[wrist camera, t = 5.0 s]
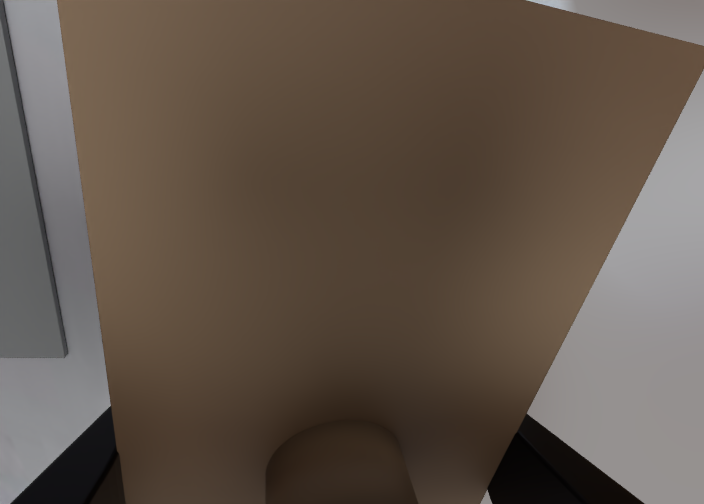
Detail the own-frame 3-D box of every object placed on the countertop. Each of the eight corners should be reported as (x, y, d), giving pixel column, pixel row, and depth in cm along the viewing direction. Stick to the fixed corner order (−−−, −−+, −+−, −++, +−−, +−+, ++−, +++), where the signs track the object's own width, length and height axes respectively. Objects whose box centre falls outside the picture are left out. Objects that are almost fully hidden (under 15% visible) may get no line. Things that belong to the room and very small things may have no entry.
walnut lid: (395, 548, 13) (431, 690, 10) (166, 575, 11) (131, 755, 8) (592, 46, 6) (842, 51, 4) (123, -64, 5) (-83, -214, 2)
